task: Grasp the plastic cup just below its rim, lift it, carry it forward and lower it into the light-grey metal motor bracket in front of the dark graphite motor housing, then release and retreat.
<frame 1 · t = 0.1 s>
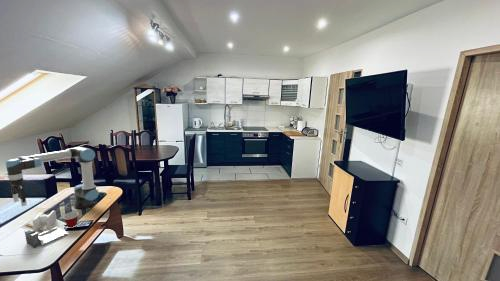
hand: (20, 203, 168), 28 cm above the table, fingers open, 13 cm apart
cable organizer: (45, 226, 185), on the table
plastic cup: (72, 227, 186), on the table
motor bracket: (51, 236, 172), on the table
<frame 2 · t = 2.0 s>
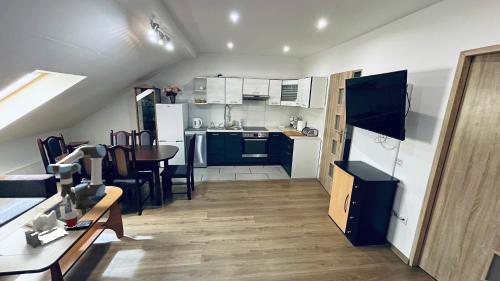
hand: (69, 205, 182), 21 cm above the table, fingers open, 13 cm apart
nothing on the table moved.
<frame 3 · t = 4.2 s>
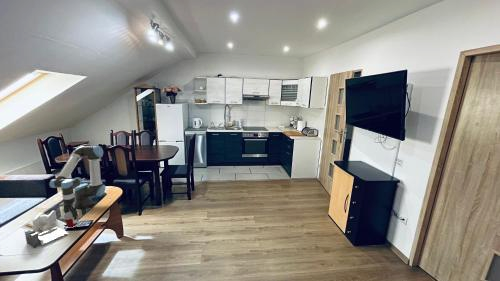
hand: (71, 221, 184), 6 cm above the table, fingers closed on plastic cup, 11 cm apart
plastic cup: (72, 227, 186), on the table, touching gripper
everything else where it was.
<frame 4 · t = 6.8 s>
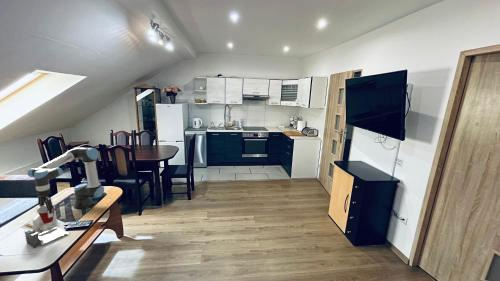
hand: (47, 215, 168), 20 cm above the table, fingers closed on plastic cup, 11 cm apart
plastic cup: (48, 222, 169), point 14 cm above the table, touching gripper
everything else where it was.
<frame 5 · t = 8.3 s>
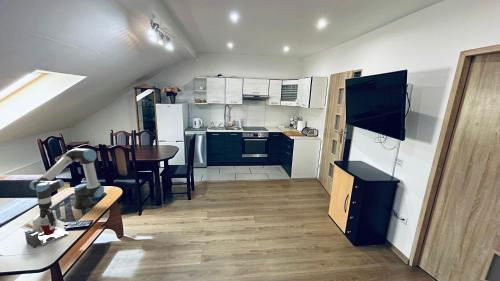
hand: (48, 227, 170), 9 cm above the table, fingers closed on plastic cup, 11 cm apart
plastic cup: (49, 233, 171), point 3 cm above the table, touching gripper
everything else where it was.
when the fingers open (8 cm above the table, at t = 9.5 s): plastic cup drops 1 cm, resting on motor bracket.
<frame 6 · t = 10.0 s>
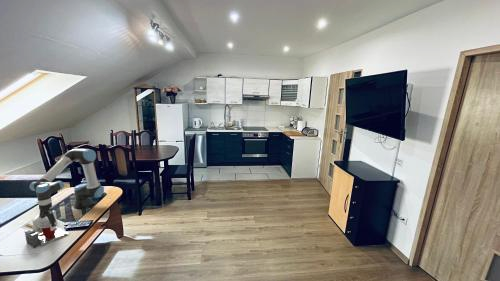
hand: (48, 227, 170), 9 cm above the table, fingers open, 13 cm apart
plastic cup: (50, 236, 172), resting on motor bracket
everything else where it was.
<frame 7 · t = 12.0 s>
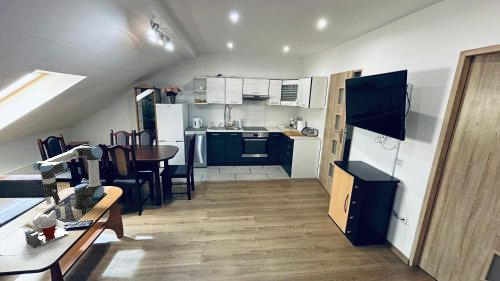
hand: (53, 206, 173), 24 cm above the table, fingers open, 13 cm apart
nothing on the table moved.
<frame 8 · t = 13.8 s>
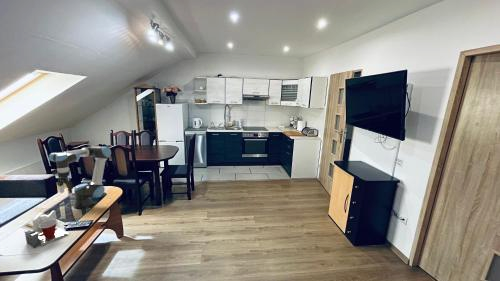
hand: (66, 194, 185), 29 cm above the table, fingers open, 13 cm apart
nothing on the table moved.
at the end: plastic cup inside the target area on the motor bracket (0.4 cm from its centre), point 0.4 cm above the motor bracket's base; plastic cup tilted 0°; the gripper is holding nothing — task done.
